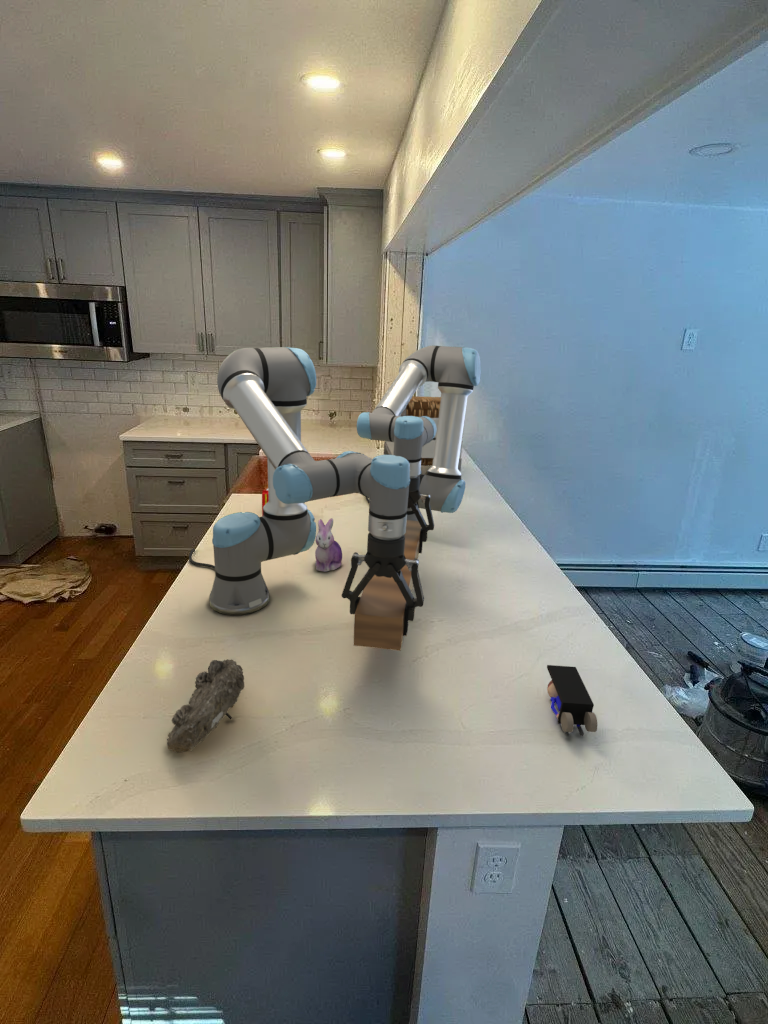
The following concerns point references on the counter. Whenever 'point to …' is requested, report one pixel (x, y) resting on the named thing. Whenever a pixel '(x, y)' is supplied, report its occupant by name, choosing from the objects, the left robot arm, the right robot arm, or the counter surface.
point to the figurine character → (570, 699)
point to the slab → (386, 603)
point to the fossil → (206, 705)
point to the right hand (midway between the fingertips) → (402, 549)
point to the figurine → (327, 548)
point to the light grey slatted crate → (417, 409)
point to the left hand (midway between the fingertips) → (381, 629)
